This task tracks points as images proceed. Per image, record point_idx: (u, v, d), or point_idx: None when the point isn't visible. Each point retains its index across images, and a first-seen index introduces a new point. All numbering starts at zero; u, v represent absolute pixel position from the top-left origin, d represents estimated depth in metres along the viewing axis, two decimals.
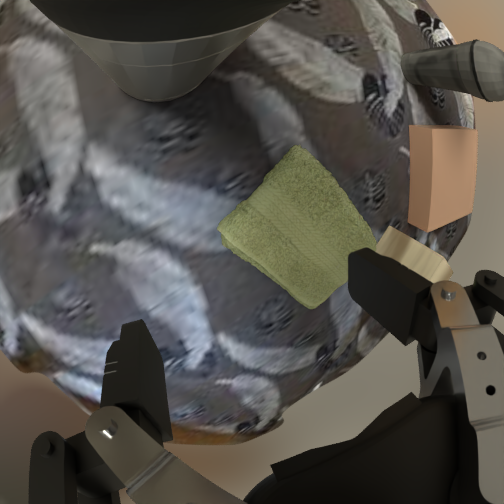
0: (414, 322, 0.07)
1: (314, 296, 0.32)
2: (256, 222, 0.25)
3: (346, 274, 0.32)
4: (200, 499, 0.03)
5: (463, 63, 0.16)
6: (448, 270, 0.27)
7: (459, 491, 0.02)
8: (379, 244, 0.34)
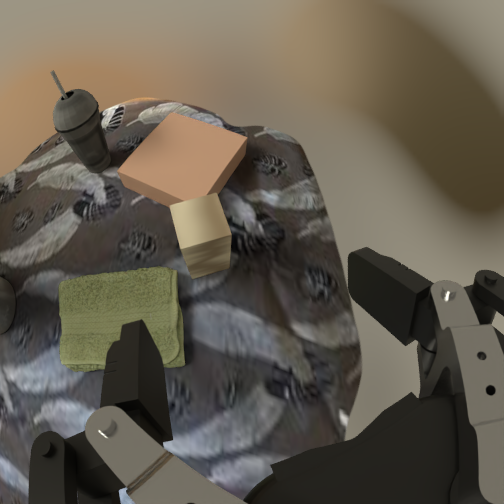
0: (414, 322, 0.07)
1: None
2: (65, 341, 0.27)
3: (167, 313, 0.31)
4: (200, 499, 0.03)
5: (63, 136, 0.29)
6: (199, 200, 0.27)
7: (459, 491, 0.02)
8: None
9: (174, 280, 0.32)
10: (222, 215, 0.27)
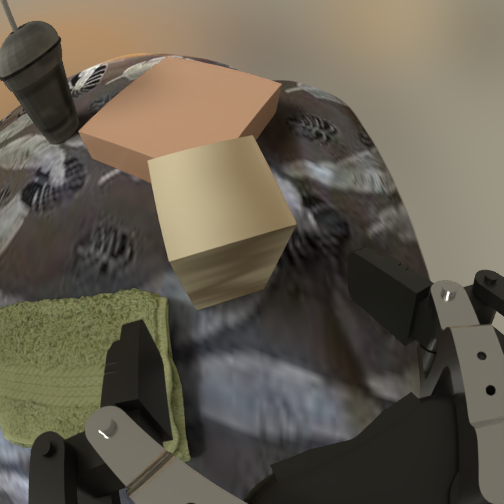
0: (414, 322, 0.07)
1: None
2: (2, 406, 0.11)
3: None
4: (200, 499, 0.03)
5: (7, 86, 0.14)
6: (215, 150, 0.12)
7: (459, 491, 0.02)
8: None
9: (162, 317, 0.17)
10: (270, 180, 0.11)
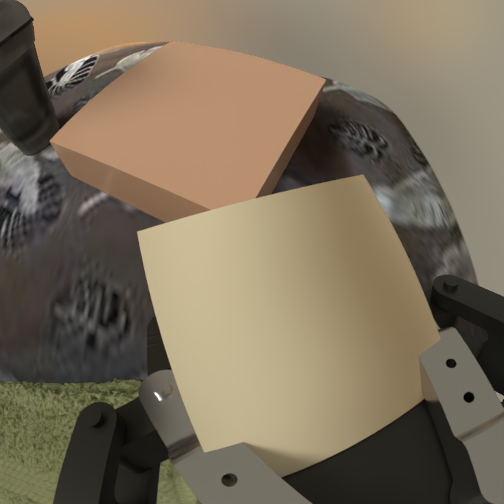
0: None
1: None
2: None
3: (174, 497, 0.09)
4: (241, 471, 0.03)
5: None
6: (299, 209, 0.05)
7: (459, 491, 0.02)
8: None
9: None
10: (413, 287, 0.05)
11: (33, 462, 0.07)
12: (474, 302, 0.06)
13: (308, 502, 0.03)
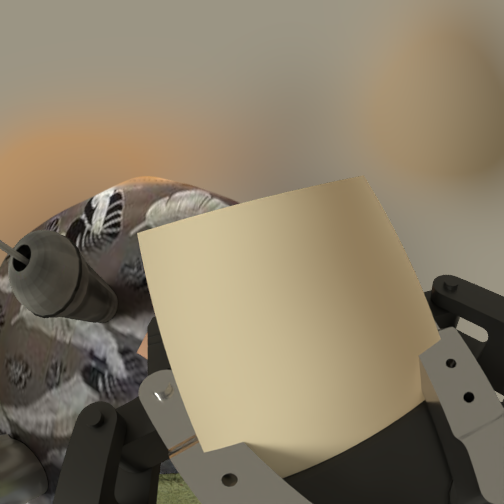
0: None
1: None
2: None
3: None
4: (241, 471, 0.03)
5: None
6: (299, 210, 0.05)
7: (459, 491, 0.02)
8: None
9: None
10: (413, 289, 0.05)
11: None
12: (474, 302, 0.06)
13: (308, 502, 0.03)
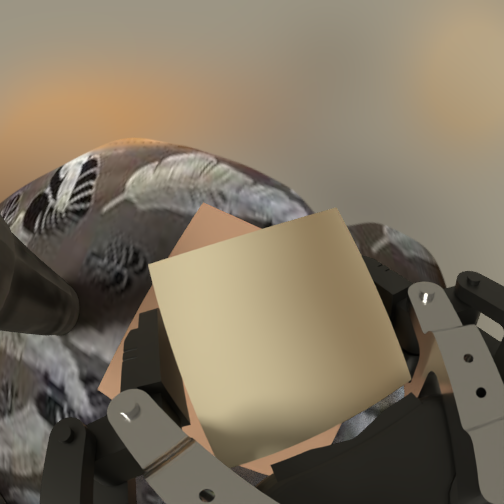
0: (392, 323, 0.08)
1: None
2: None
3: None
4: (217, 486, 0.03)
5: None
6: (278, 243, 0.07)
7: (459, 491, 0.02)
8: None
9: None
10: (376, 305, 0.06)
11: None
12: (493, 298, 0.05)
13: None
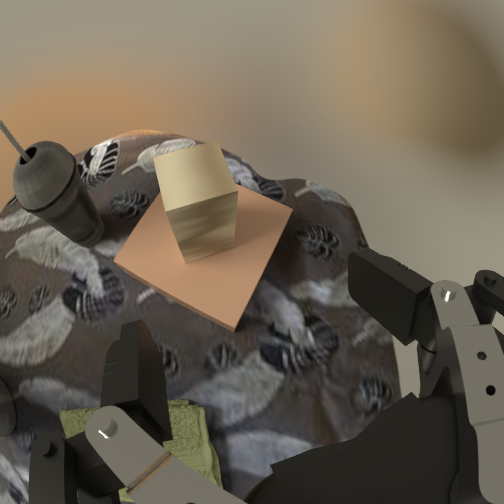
0: (414, 322, 0.07)
1: None
2: None
3: (200, 457, 0.21)
4: (200, 499, 0.03)
5: None
6: (194, 150, 0.19)
7: (459, 491, 0.02)
8: None
9: (203, 421, 0.23)
10: (225, 167, 0.19)
11: None
12: None
13: None
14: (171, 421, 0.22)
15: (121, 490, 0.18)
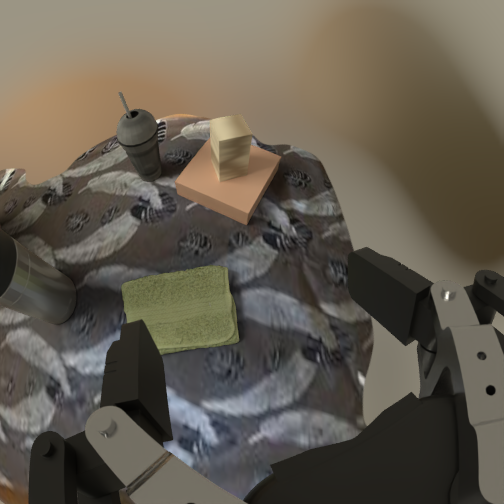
0: (414, 322, 0.07)
1: (218, 332, 0.39)
2: None
3: (223, 301, 0.41)
4: (200, 499, 0.03)
5: (126, 149, 0.40)
6: (230, 117, 0.39)
7: (459, 491, 0.02)
8: (216, 171, 0.46)
9: (226, 275, 0.42)
10: (245, 125, 0.38)
11: (169, 300, 0.39)
12: None
13: None
14: (206, 275, 0.42)
15: (162, 338, 0.37)
